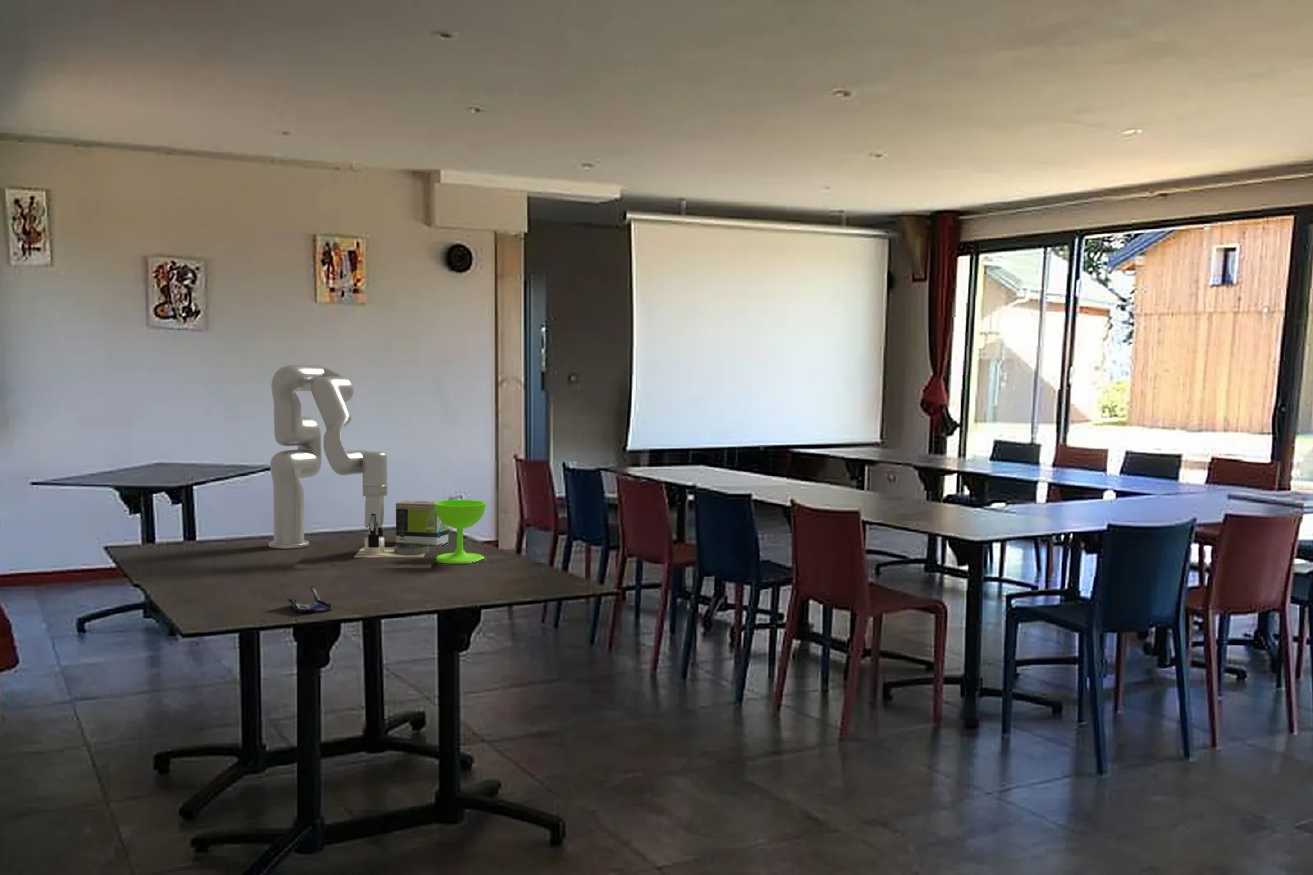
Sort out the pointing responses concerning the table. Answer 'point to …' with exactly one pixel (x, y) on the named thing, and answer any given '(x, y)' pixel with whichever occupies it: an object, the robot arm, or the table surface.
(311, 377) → the robot arm
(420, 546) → the grey faceted ring
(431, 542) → the tea box
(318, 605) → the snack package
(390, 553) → the board
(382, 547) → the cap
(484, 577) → the table surface
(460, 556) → the wineglass
